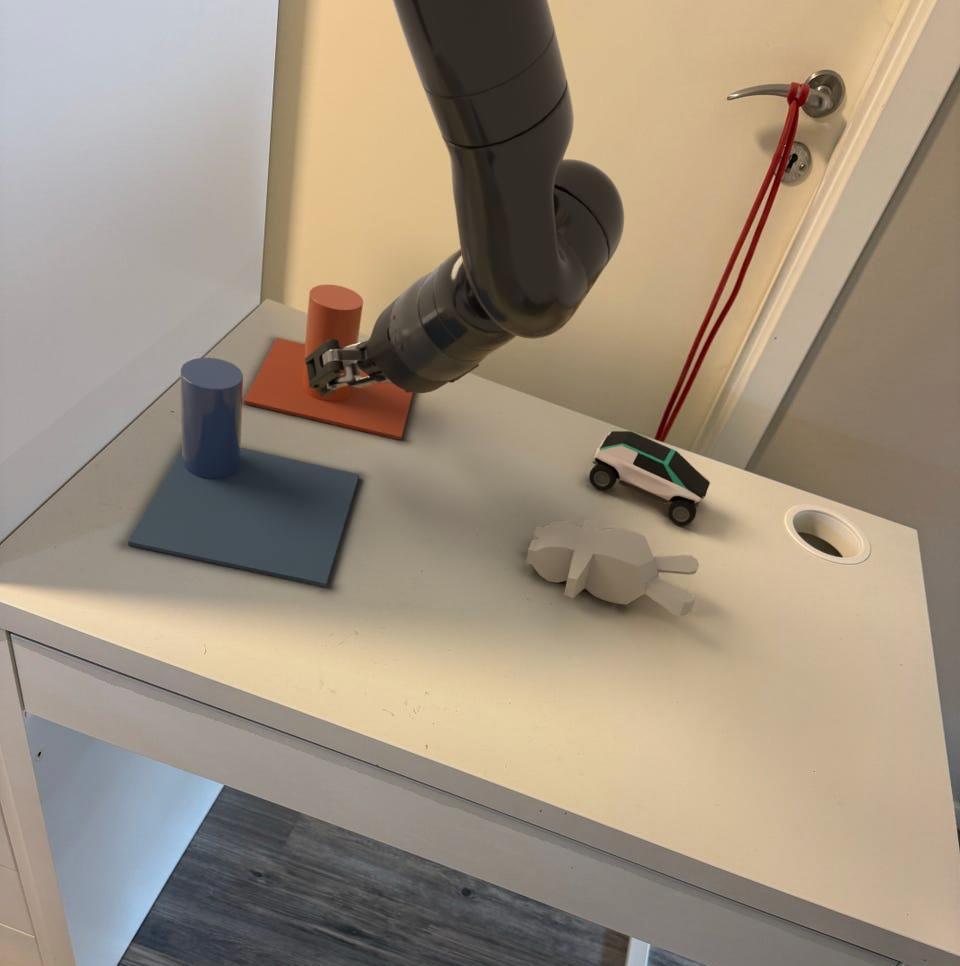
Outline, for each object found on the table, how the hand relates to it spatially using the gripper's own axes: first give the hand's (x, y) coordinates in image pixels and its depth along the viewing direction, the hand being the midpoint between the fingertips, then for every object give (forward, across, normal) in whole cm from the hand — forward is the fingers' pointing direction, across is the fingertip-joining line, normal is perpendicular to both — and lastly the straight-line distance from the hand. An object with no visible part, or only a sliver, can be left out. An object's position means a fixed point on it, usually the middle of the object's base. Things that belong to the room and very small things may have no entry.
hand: (365, 383), depth 82 cm
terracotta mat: (+12, -1, -2) cm, 12 cm away
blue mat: (-1, +13, +11) cm, 17 cm away
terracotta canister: (+11, 0, -2) cm, 11 cm away
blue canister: (+3, +15, +6) cm, 16 cm away
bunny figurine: (-12, -15, +22) cm, 29 cm away
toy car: (-4, -27, +14) cm, 31 cm away
